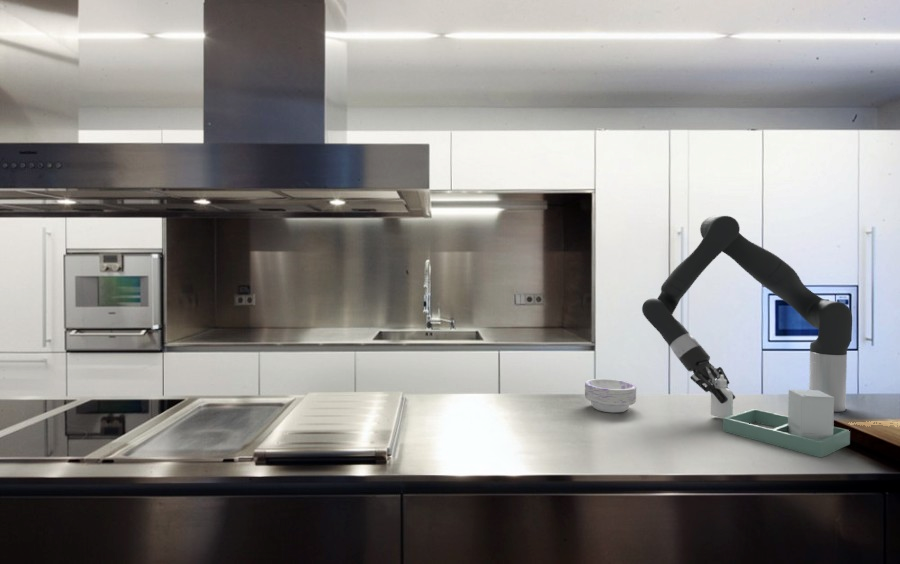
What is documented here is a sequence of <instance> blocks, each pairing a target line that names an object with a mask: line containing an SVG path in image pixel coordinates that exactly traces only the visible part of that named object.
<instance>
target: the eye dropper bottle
mask: <svg viewBox="0 0 900 564" xmlns="http://www.w3.org/2000/svg"><path fill="white" fill-rule="evenodd" d="M716 380H717V386H718V389H720V390H721V391H722V392H723V394H724V395H725V396H726V397H727V399H728V400H727V401H726V402H725V403H720V402H719V400H718V399H717V398H716V397H715V395H714V394H713V393H710V415H711V416H713V417H717V418H721V419H723V418H725V417H728V416H731V415H734V414H733V413H734V411H733V410H734V407H733V406H734V399H733V394H734V393H733V391H732V390H731V389H730V388H729V387H728V386H727V380H725V379H724V376H723V375H721V376H720V379H717V378H716ZM726 387H728V388H729V389H728V388H726Z"/></svg>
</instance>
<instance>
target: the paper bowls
mask: <svg viewBox="0 0 900 564" xmlns="http://www.w3.org/2000/svg"><path fill="white" fill-rule="evenodd" d="M584 398H585V399H586V400H587V401H589V402H590V404H591V406H592V407H593V408H594V409H595V410H597V411H600V412H604V413H614V414H619V413H624V412H626V411H627V410H628V409H629V407H630V406H631V405H634V404H636V402H637V386H636V385H635V384H633V383H632V382H629V381H625V380H619V379H611V378H593V379H587V380H586V381H585V382H584Z"/></svg>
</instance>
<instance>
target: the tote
mask: <svg viewBox="0 0 900 564" xmlns="http://www.w3.org/2000/svg"><path fill="white" fill-rule="evenodd" d="M722 419H723V420H722V431H723V432H726V433H730V434H734V435H737V436H739V437H740V436H741V437H743V438H744V437H745V438H747V439H751V440H755V441H757V442H758V441H759V442H762V443H767V444H770V445H772V446H773V445H774V446H777V447H781V448H783V449H788V450H791V451H795V452H799V453H803V454H807V455H810V456H814V457H817V458H824V457H825V456H828V455H830V454H832V453H834V452H837V451H838V450H840V449H843V448H844V447H847V446H849V445H850V444H851V430H850V429H846V428H842V427H837V426H833V435H832V436H830V437H828V438H825V439H823V440H821V441H817V440H813V439H809V438H805V437H801V436H797V435H793V434H789V433H788V415H783V414H779V413H776V412H775V413H774V412H770V411H766V410H761V409H756V408H752V409H748V410H746V411H742V412H739V413H735V414H733V415H731V416H728V417H725V418H722ZM755 421H756V422H755ZM752 422H753V423H757V422H759V423H758V424H761V423H763V424H762V425H766V424H767V426H769V427H770V426H771V427H774V428H768V427H765V426H760V425H756V424H753V423H752ZM749 423H750V424H749ZM849 430H850V431H849Z"/></svg>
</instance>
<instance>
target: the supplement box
mask: <svg viewBox="0 0 900 564" xmlns="http://www.w3.org/2000/svg"><path fill="white" fill-rule="evenodd" d="M787 397H788V401H787V403H788V404H787V405H788V406H787V407H788V408H787V416H788V433H789V434H793V435H797V436H801V437H805V438H809V439H813V440H817V441H821V440H823V439H825V438H828V437H830V436H832V435H833V427H835V426H834V424H835V423H834V416H835V415H834V413H835V412H834V397H832V396H830V395H828V394H825V393H823V392H821V391H818V390H809V389H788V396H787Z"/></svg>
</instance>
